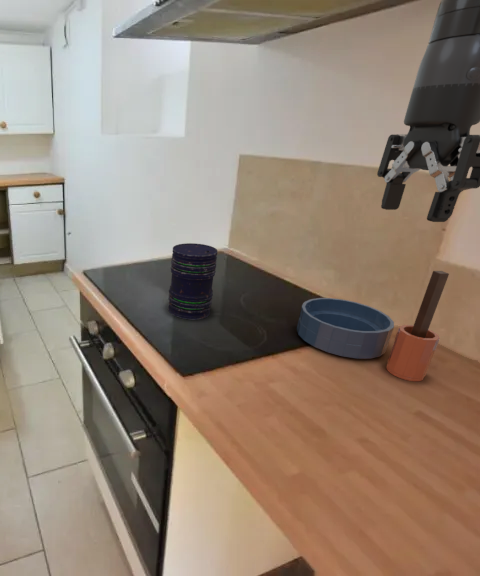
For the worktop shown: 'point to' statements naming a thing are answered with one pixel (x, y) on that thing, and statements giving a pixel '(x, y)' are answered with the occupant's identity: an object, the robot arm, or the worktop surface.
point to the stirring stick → (429, 303)
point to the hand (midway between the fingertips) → (410, 214)
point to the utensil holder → (411, 354)
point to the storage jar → (192, 280)
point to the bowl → (345, 328)
